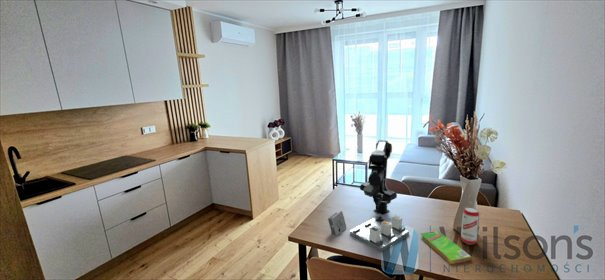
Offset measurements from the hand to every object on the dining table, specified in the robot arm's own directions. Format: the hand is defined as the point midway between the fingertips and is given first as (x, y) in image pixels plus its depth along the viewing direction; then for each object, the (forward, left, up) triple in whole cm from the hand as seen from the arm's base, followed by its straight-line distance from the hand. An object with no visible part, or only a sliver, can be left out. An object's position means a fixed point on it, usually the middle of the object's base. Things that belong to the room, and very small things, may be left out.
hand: (377, 206), depth 138 cm
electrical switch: (+18, -11, -12) cm, 24 cm away
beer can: (-21, +35, -12) cm, 43 cm away
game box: (-8, +30, -12) cm, 34 cm away
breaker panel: (+5, +5, -11) cm, 14 cm away
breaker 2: (+5, +9, -9) cm, 14 cm away
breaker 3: (-3, +9, -9) cm, 13 cm away
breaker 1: (+14, +9, -9) cm, 19 cm away
